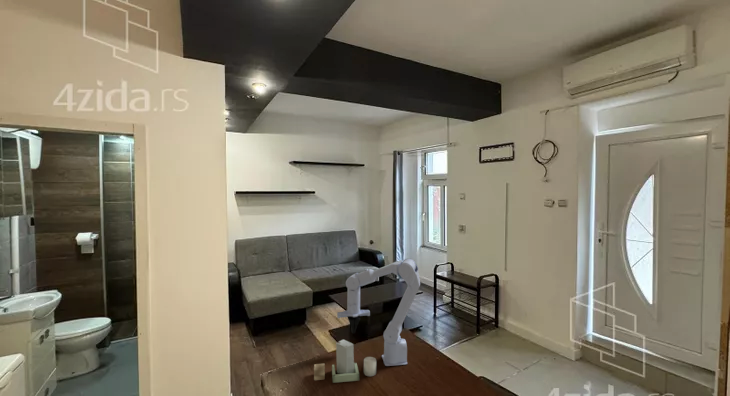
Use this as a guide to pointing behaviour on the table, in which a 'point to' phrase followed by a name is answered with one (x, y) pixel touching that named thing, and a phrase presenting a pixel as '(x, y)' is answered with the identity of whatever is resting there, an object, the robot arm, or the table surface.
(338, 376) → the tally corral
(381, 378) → the table surface
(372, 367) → the cream rounded block
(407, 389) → the table surface
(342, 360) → the skincare box
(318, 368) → the beech block
